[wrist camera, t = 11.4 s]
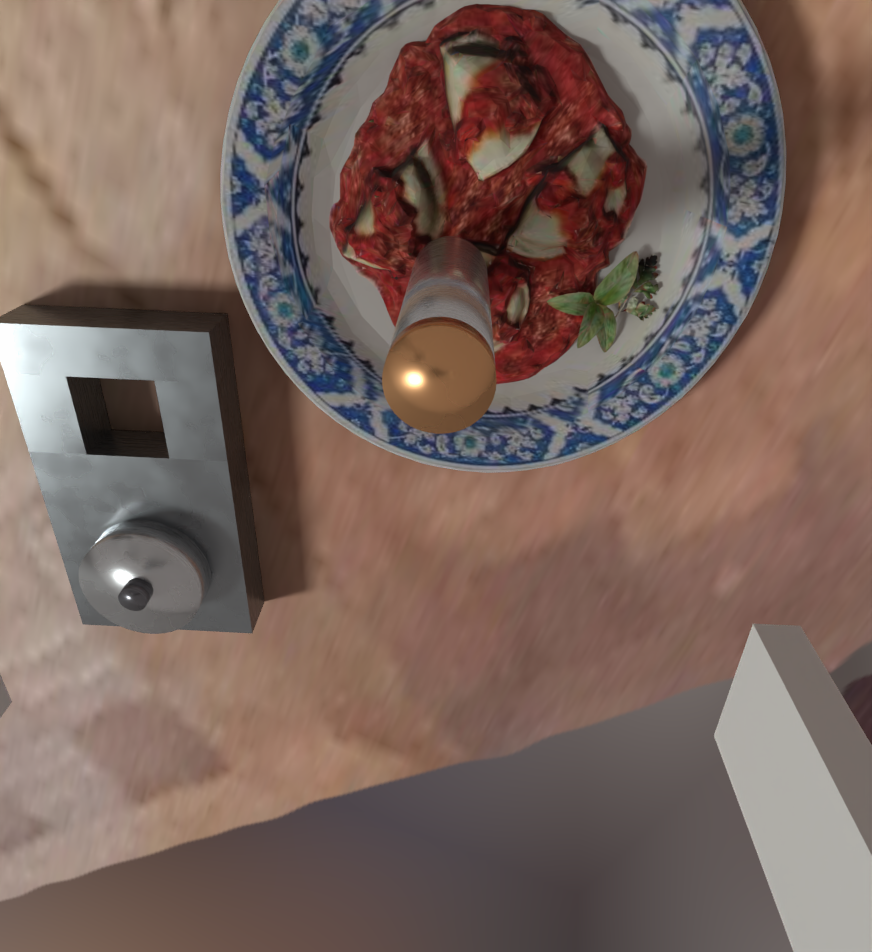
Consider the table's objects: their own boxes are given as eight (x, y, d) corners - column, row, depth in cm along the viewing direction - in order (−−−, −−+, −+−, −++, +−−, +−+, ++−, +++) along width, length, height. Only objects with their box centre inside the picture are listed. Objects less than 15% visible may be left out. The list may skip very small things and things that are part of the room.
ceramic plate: (130, 217, 34) (103, 229, 32) (524, -309, 24) (530, -354, 22) (478, 528, 43) (478, 557, 41) (871, 234, 33) (904, 248, 31)
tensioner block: (22, 304, 36) (-51, 343, 31) (227, 313, 36) (187, 354, 31) (104, 593, 47) (58, 658, 42) (264, 602, 46) (238, 668, 41)
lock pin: (412, 235, 31) (380, 325, 20) (489, 237, 31) (500, 329, 20) (412, 310, 33) (383, 432, 22) (485, 312, 33) (492, 435, 22)
